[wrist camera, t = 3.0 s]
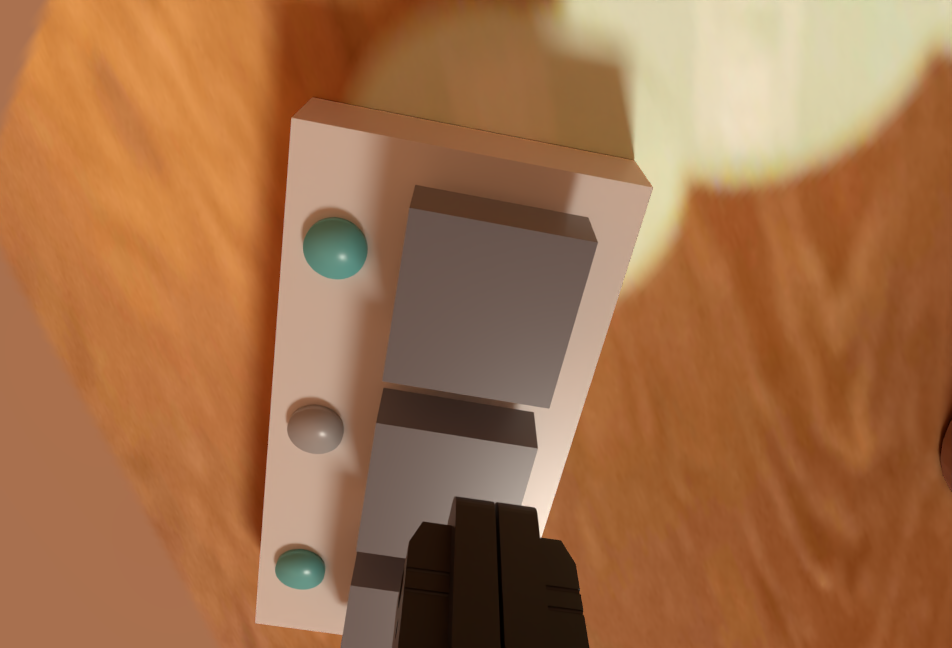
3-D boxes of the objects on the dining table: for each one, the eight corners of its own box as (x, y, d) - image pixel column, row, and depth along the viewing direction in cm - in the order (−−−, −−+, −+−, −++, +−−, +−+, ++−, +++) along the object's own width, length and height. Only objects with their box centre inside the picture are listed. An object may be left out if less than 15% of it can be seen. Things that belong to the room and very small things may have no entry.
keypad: (312, 97, 24) (289, 120, 21) (634, 160, 25) (655, 190, 22) (272, 569, 34) (253, 629, 31) (501, 601, 35) (503, 662, 32)
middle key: (383, 387, 24) (375, 422, 23) (533, 412, 25) (538, 448, 23) (363, 511, 27) (355, 551, 25) (500, 531, 28) (501, 572, 26)
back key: (358, 543, 28) (350, 585, 26) (491, 563, 28) (492, 605, 27) (343, 640, 30) (335, 683, 29) (464, 656, 31) (464, 700, 29)
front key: (415, 184, 21) (409, 207, 19) (588, 217, 22) (598, 242, 20) (389, 347, 24) (382, 381, 22) (544, 373, 24) (549, 408, 22)
